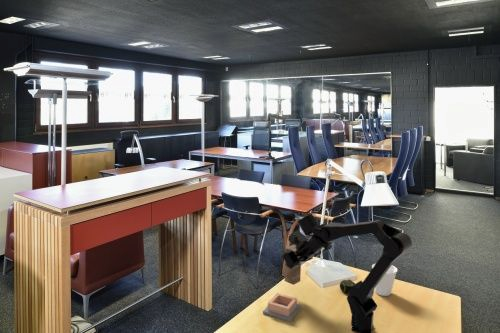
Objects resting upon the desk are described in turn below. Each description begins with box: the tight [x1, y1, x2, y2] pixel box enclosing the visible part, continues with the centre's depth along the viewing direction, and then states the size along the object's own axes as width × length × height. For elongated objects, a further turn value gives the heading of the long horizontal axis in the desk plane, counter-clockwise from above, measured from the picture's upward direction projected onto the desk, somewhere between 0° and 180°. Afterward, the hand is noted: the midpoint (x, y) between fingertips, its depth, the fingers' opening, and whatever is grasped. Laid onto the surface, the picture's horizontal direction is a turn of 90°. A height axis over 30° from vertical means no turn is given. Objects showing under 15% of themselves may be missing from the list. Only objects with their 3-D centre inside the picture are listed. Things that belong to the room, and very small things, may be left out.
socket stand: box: [262, 292, 302, 323], centre depth 141 cm, size 11×11×4 cm
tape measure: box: [339, 278, 356, 294], centre depth 157 cm, size 7×7×4 cm
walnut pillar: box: [284, 244, 302, 286], centre depth 150 cm, size 4×4×14 cm
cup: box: [371, 263, 398, 297], centre depth 155 cm, size 10×10×11 cm
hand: (290, 263), depth 151 cm, fingers closed on walnut pillar, 4 cm apart
